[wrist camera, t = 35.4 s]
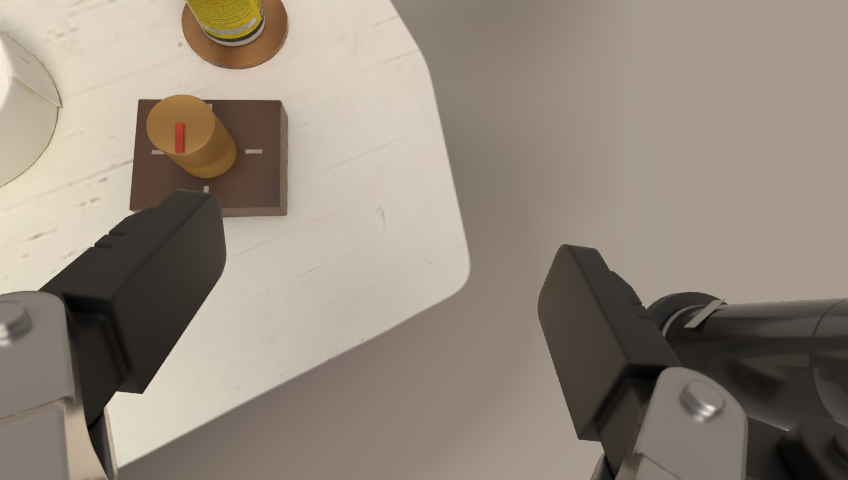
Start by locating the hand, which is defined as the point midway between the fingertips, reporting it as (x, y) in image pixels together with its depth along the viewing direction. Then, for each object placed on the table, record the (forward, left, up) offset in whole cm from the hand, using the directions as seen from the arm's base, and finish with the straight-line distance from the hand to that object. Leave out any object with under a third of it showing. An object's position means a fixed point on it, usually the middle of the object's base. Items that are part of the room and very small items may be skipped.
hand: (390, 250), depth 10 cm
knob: (+14, -14, -26) cm, 32 cm away
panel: (+14, -14, -29) cm, 35 cm away
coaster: (+13, -29, -29) cm, 43 cm away
